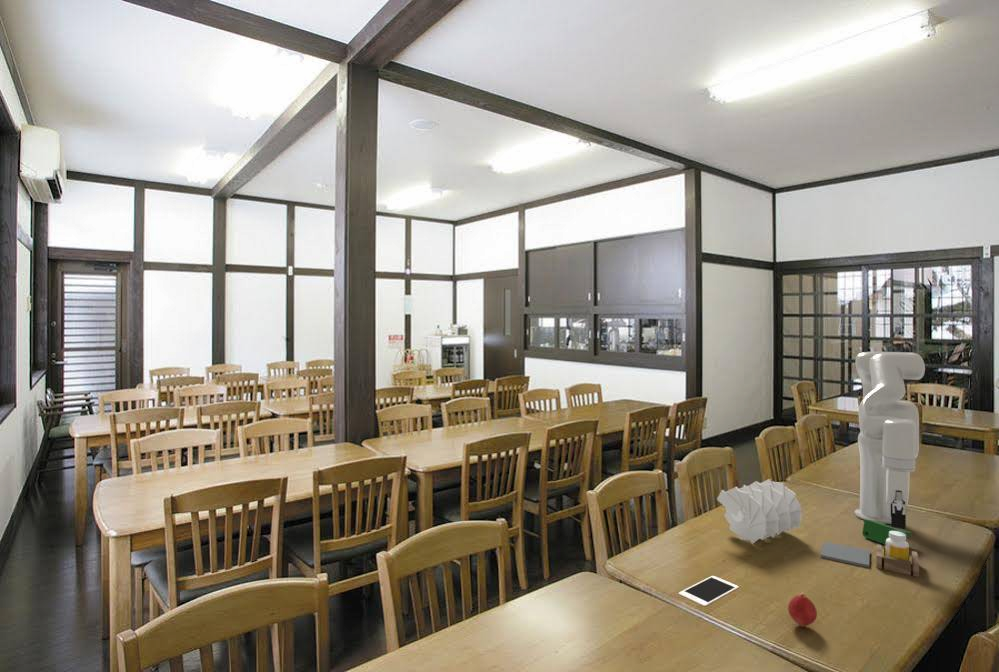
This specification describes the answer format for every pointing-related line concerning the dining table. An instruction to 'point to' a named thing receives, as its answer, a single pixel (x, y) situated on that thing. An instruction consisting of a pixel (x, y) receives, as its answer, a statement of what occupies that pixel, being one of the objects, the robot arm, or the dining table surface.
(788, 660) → the dining table surface
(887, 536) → the clamp
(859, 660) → the dining table surface
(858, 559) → the rubber mat
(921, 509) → the dining table surface
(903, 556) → the supplement bottle
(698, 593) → the cell phone
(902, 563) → the frame
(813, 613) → the onion
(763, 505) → the white origami shape
